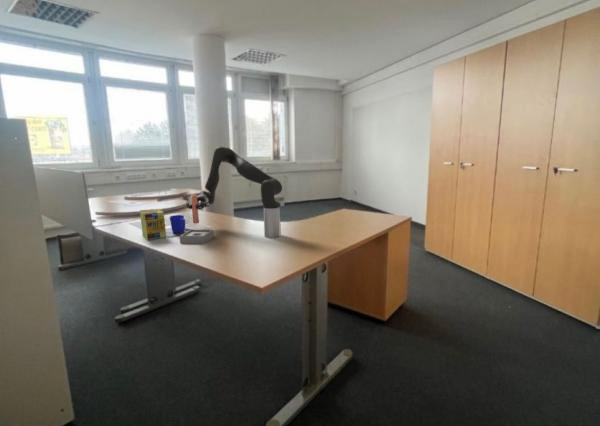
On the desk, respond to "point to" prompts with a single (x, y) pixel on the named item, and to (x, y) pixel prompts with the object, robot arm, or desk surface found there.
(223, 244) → the desk surface
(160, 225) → the protein box
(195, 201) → the peg
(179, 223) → the mug
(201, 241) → the grey square hole base
